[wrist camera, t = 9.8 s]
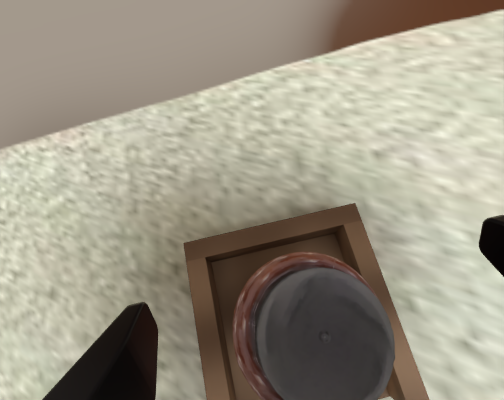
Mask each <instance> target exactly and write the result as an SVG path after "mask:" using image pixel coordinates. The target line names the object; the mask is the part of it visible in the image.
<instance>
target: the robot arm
mask: <svg viewBox="0 0 504 400" xmlns="http://www.w3.org/2000/svg"><path fill="white" fill-rule="evenodd" d="M479 248H480V251H481V252H482V254H483V255H484V256H485V257H486V258H487V259H488V260H489V261H490V262H491V264H492V265H493V266H494V267H495V268H496V269H497V270H498V271H499V272H500V273H501V274H502V275H503V277H504V215H499V216H495V217H491V218H487V219H486V220H485V221H484V222H483V224H482V229H481V235H480V240H479ZM157 350H158V328H157V324H156V322H155V320H154V318H153V315H152V313H151V311H150V309H149V307H148V305H147V304H146V303H145V302H140V303H136V304H132V305H129V306H127V307H126V308H125V309H124V310H123V312H122V313H121V314H120V315H119V316H118V317H117V318H116V319H115V320H114V321H113V322H112V324H111V325H110V326H109V327H108V328H107V329H106V330H105V331H104V332H103V333H102V335H101V336H100V337H99V338H98V339H97V340H96V341H95V342H94V343H93V344H92V346H91V347H90V348H89V349H88V350H87V351H86V352H85V353H84V354H83V355H82V357H81V358H80V359H79V360H78V361H77V362H76V363H75V364H74V365H73V366H72V368H71V369H70V370H69V371H68V372H67V373H66V374H65V375H64V376H63V377H62V379H61V380H60V381H59V382H58V383H57V384H56V385H55V386H54V387H53V388H52V389H51V391H50V392H49V393H48V394H47V395H46V396H45V397H44V398H43V399H42V400H155V395H156V375H157Z"/></svg>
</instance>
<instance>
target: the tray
mask: <svg viewBox="0 0 504 400" xmlns="http://www.w3.org/2000/svg"><path fill="white" fill-rule="evenodd" d="M184 249H185V256H186V263H187V269H188V276H189V283H190V290H191V296H192V303H193V310H194V316H195V323H196V330H197V336H198V343H199V350H200V356H201V363H202V370H203V377H204V383H205V390H206V397H207V400H261V398H260V397H259V396H258V395H257V394H256V393H255V392H254V391H253V389H252V388H251V386H250V385H249V383H248V381H247V380H246V378H245V377H244V375H243V373H242V371H241V369H240V367H239V364H238V362H237V358H236V354H235V349H234V344H233V317H234V311H235V306H236V303H237V300H238V298H239V295H240V293H241V291H242V289H243V288H244V286H245V284H246V283H247V281H248V280H249V279H250V278H251V276H252V275H253V274H254V273H255V272H256V271H257V270H258V269H259V268H260V267H262V266H263V265H264V264H266V263H267V262H269V261H271V260H273V259H275V258H277V257H280V256H283V255H286V254H290V253H295V252H316V253H321V254H325V255H328V256H331V257H334V258H336V259H339V260H340V261H342V262H344V263H346V264H347V265H349V266H350V267H351V268H353V269H354V270H355V271H356V272H358V273H359V274H360V275H361V276H362V277H363V278H364V279H365V280H366V281H367V283H368V284H369V285H370V287H371V288H372V290H373V291H374V293H375V294H376V296H377V298H378V299H379V301H380V302H381V304H382V306H383V308H384V310H385V311H386V313H387V315H388V318H389V320H390V323H391V327H392V330H393V334H394V341H395V360H394V363H393V369H392V373H391V376H390V380H389V382H388V384H387V386H386V388H385V390H384V392H383V393H382V394H381V395H380V397H379V398H378V399H381V398H385V397H389V396H390V397H392V398H393V399H394V400H429V397H428V395H427V392H426V389H425V387H424V384H423V381H422V379H421V376H420V374H419V371H418V368H417V366H416V363H415V360H414V358H413V355H412V352H411V350H410V347H409V344H408V342H407V339H406V336H405V334H404V331H403V329H402V326H401V323H400V321H399V318H398V315H397V313H396V310H395V307H394V305H393V302H392V299H391V297H390V294H389V291H388V289H387V286H386V284H385V281H384V278H383V276H382V273H381V270H380V268H379V265H378V262H377V260H376V257H375V254H374V252H373V249H372V246H371V244H370V241H369V239H368V236H367V233H366V231H365V228H364V225H363V223H362V220H361V217H360V215H359V212H358V209H357V207H356V204H355V203H353V204H349V205H345V206H340V207H336V208H332V209H328V210H323V211H319V212H315V213H310V214H306V215H302V216H298V217H293V218H289V219H285V220H280V221H276V222H272V223H268V224H263V225H259V226H255V227H251V228H246V229H242V230H238V231H233V232H229V233H225V234H221V235H216V236H212V237H208V238H203V239H199V240H195V241H191V242H186V243H184Z"/></svg>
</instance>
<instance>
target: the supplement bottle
mask: <svg viewBox="0 0 504 400" xmlns="http://www.w3.org/2000/svg"><path fill="white" fill-rule="evenodd" d="M233 344H234V349H235V354H236V358H237V362H238V364H239V367H240V369H241V371H242V373H243V375H244V377H245V378H246V380H247V381H248V383H249V385H250V386H251V388H252V389H253V391H254V392H255V393H256V394H257V395H258V396H259V397H260V398H261V400H377V399H378V398H379V397H380V395H381V394H382V393H383V392H384V390H385V388H386V386H387V384H388V382H389V380H390V376H391V373H392V369H393V363H394V360H395V341H394V334H393V330H392V327H391V323H390V320H389V318H388V315H387V313H386V311H385V310H384V308H383V306H382V304H381V302H380V301H379V299H378V298H377V296H376V294H375V293H374V291H373V290H372V288H371V287H370V285H369V284H368V283H367V281H366V280H365V279H364V278H363V277H362V276H361V275H360V274H359V273H358V272H356V271H355V270H354V269H353V268H351V267H350V266H349V265H347V264H346V263H344V262H342V261H340V260H339V259H336V258H334V257H331V256H328V255H325V254H321V253H316V252H295V253H290V254H286V255H283V256H280V257H277V258H275V259H273V260H271V261H269V262H267V263H266V264H264V265H263V266H262V267H260V268H259V269H258V270H257V271H256V272H255V273H254V274H253V275H252V276H251V278H250V279H249V280H248V281H247V283H246V284H245V286H244V288H243V289H242V291H241V293H240V295H239V298H238V300H237V303H236V306H235V311H234V317H233Z"/></svg>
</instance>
